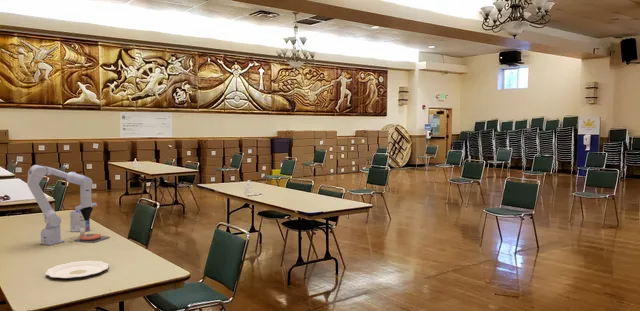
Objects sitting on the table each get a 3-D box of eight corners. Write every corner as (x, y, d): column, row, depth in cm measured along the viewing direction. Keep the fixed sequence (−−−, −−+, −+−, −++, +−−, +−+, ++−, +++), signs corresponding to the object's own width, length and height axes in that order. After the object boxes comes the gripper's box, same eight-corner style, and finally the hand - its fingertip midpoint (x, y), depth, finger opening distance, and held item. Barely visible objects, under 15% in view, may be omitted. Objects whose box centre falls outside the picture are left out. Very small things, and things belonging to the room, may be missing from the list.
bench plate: (93, 243, 266) (93, 241, 266) (73, 241, 270) (73, 239, 270) (109, 237, 278) (109, 236, 278) (90, 236, 282) (90, 234, 282)
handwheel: (102, 235, 280) (101, 225, 279) (99, 239, 269) (99, 229, 269) (81, 236, 277) (81, 226, 276) (77, 240, 266) (77, 230, 266)
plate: (92, 261, 232) (92, 257, 231) (119, 271, 216) (119, 267, 216) (36, 273, 212) (36, 269, 212) (60, 285, 196) (60, 281, 196)
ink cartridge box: (90, 230, 299) (89, 207, 298) (86, 232, 293) (85, 208, 292) (74, 229, 299) (74, 206, 298) (70, 231, 293) (69, 208, 292)
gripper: (89, 195, 285) (90, 217, 286) (70, 198, 272) (71, 222, 272) (99, 195, 283) (100, 218, 284) (80, 199, 270) (81, 223, 270)
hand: (86, 220), depth 278 cm, fingers closed
